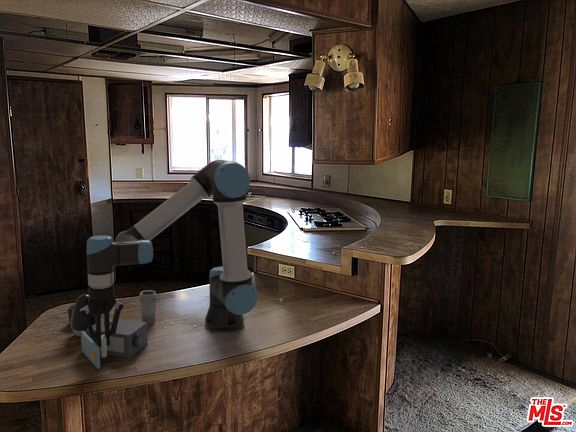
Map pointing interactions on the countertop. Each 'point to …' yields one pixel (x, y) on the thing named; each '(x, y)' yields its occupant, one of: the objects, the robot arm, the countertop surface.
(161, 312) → the countertop surface
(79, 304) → the black egg shape
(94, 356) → the side door
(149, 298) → the cup
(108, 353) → the box
